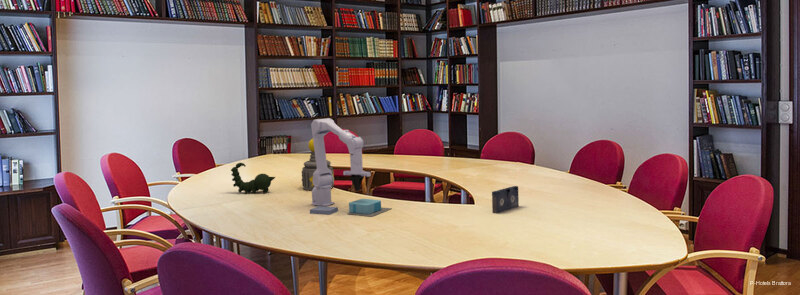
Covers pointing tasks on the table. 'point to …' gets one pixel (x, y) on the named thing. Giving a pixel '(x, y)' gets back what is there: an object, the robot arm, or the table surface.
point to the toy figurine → (254, 185)
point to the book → (323, 210)
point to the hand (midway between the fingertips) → (357, 190)
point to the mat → (372, 213)
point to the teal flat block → (365, 206)
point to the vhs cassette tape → (505, 199)
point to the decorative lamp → (311, 169)
